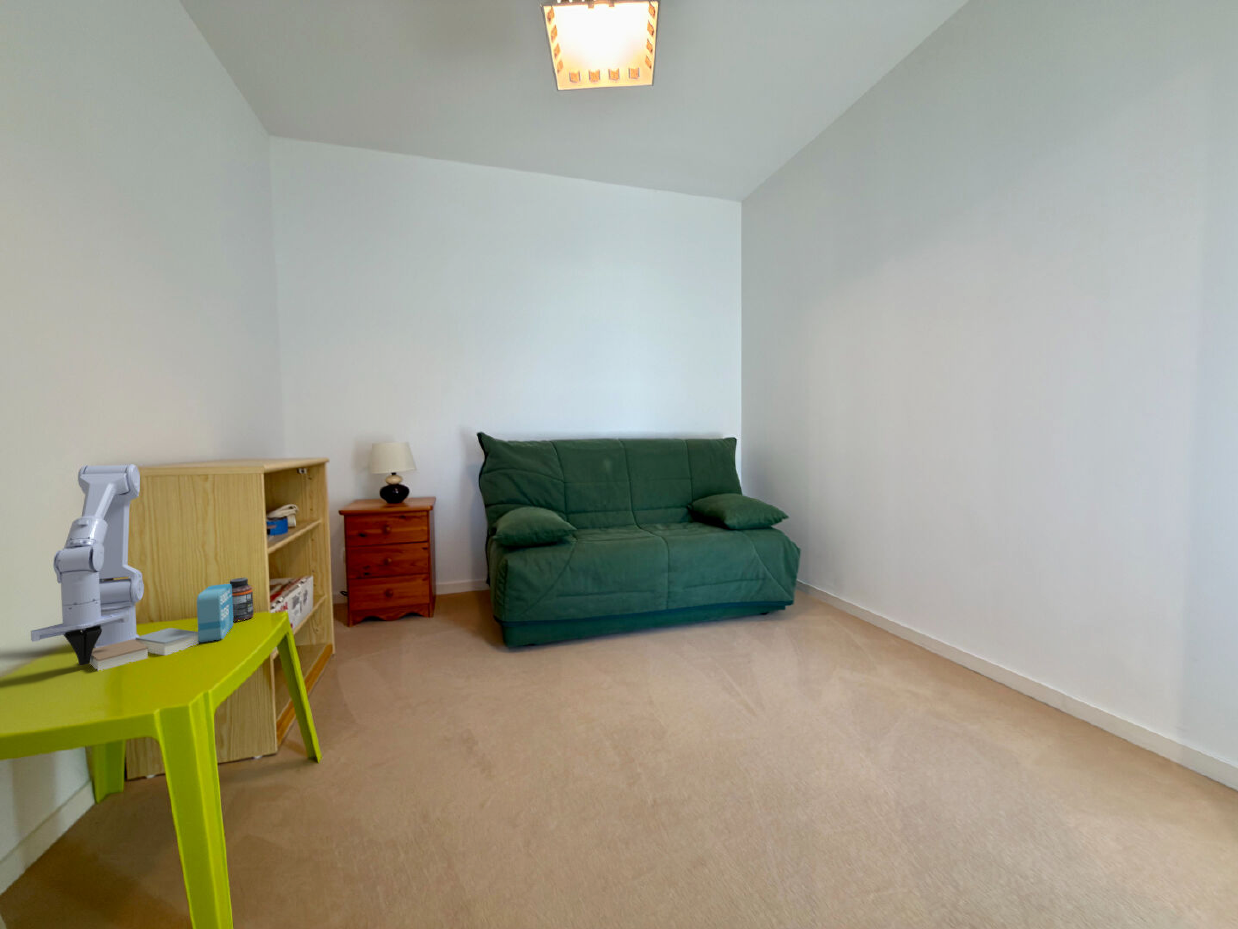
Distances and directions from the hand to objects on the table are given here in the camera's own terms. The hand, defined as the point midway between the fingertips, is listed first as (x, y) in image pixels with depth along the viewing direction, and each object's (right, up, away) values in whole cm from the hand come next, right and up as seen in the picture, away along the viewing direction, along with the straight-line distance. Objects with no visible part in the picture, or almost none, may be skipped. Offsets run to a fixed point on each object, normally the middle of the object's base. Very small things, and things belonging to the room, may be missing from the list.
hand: (84, 663), depth 110 cm
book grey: (+8, -1, +11) cm, 14 cm away
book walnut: (+3, -1, +4) cm, 5 cm away
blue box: (+14, -1, +19) cm, 24 cm away
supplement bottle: (+10, 0, +32) cm, 33 cm away
